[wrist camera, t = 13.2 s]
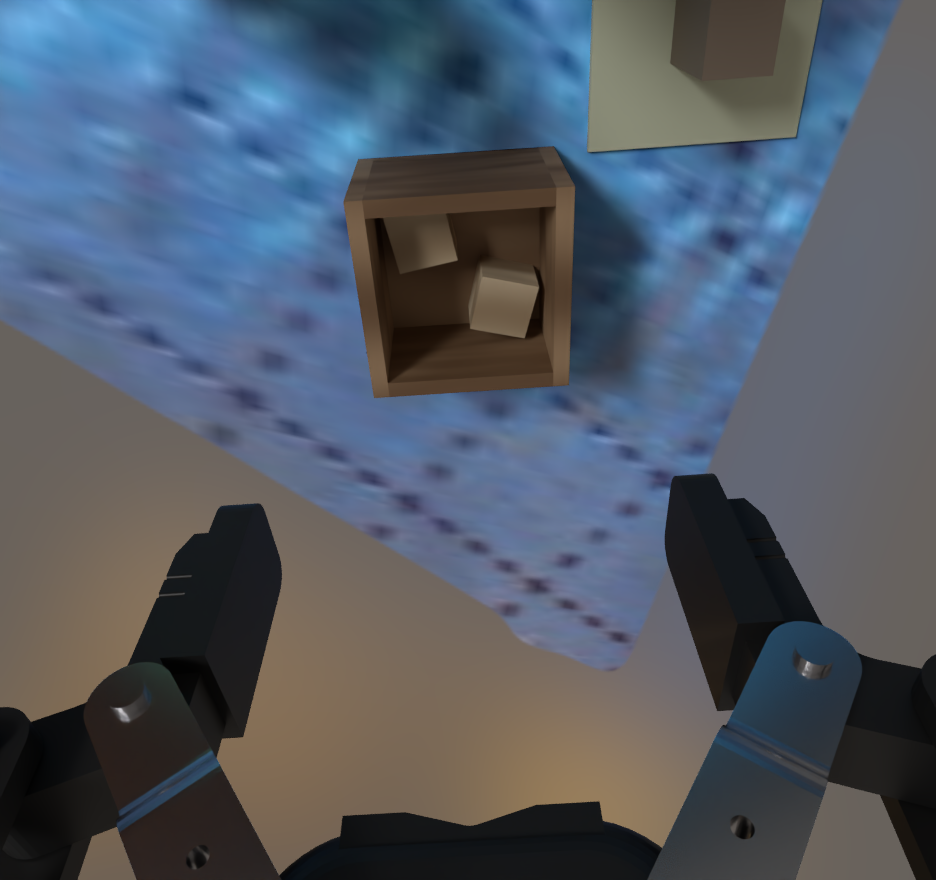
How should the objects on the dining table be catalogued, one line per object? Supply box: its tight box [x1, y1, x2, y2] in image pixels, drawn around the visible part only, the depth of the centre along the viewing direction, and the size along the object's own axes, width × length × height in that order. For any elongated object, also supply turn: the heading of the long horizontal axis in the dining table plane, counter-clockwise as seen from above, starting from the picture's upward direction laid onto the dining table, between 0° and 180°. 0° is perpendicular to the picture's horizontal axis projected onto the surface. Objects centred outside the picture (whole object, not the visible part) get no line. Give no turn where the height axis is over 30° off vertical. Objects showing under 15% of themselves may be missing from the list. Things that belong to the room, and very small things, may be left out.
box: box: [344, 146, 575, 398], centre depth 36 cm, size 10×10×7 cm
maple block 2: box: [468, 255, 539, 338], centre depth 39 cm, size 3×3×3 cm
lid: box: [587, 0, 822, 152], centre depth 32 cm, size 11×11×6 cm
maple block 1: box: [383, 213, 458, 274], centre depth 36 cm, size 3×3×3 cm
